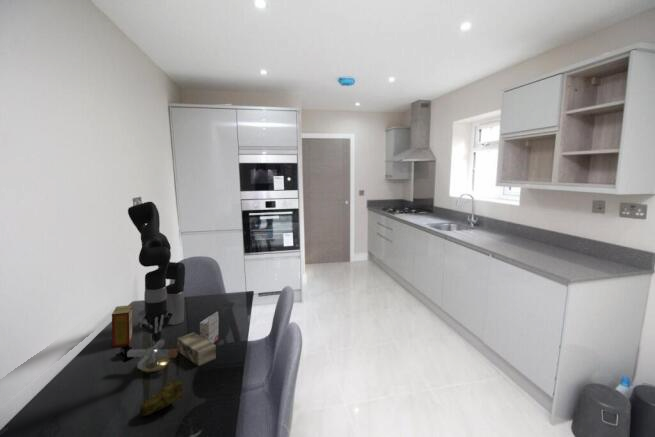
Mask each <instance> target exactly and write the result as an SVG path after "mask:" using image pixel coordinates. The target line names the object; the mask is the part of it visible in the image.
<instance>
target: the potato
mask: <svg viewBox="0 0 655 437" xmlns="http://www.w3.org/2000/svg"><path fill="white" fill-rule="evenodd" d="M184 388H185V386H184V383H183V382H182V381H180V380H172V381H169V382H168V383H167V384H165V385H163V386H162V387H161V388H160V389H158V391H157V392H156V393H154V394H153V395H152V396H150V397H149V398H148V399H146V400H145V401H144V402H143V403H142V404H141V406H140V408H139V409H140V410H139V412H140V415H142V416H150V415H152V414H153V413H156V412H158V411H161V410H162V409H164V408H166V407H168V406H170V404H172V403H173V402H175V401H177V400H178V399H181V398H182V397H183V393H184V390H185V389H184Z"/></svg>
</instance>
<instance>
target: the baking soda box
mask: <svg viewBox="0 0 655 437" xmlns="http://www.w3.org/2000/svg"><path fill="white" fill-rule="evenodd" d="M133 335H134V334H133V304H129V305H120V306H115V307H114V309H113V312H112V313H111V338H112V340H111V341H112V342H111V343H112V347H111V348H115V347H116V348H117V347H123V346H125V345H129V346H130V344H131V341H132V338H133Z"/></svg>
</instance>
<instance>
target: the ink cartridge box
mask: <svg viewBox="0 0 655 437" xmlns="http://www.w3.org/2000/svg"><path fill="white" fill-rule="evenodd" d="M199 335H200V336H201V337H203V338H205V339H206V340H208V341H209V342H211V343H213V344H215V342H217V341H218V340H219V312H218V310H217V311H216V312H214V313H213V314H211V315H209V316H207V317H206V318H205V319H203V320H202V321H201V322H199Z"/></svg>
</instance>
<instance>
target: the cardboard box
mask: <svg viewBox="0 0 655 437" xmlns="http://www.w3.org/2000/svg"><path fill="white" fill-rule="evenodd" d="M176 343H177V344H176V345H177V348H176V349H178V353H180V354H181V355H183V356H184V357H185V358H187V359H188V360H190V361H191V362H192V363H194V364H195V365H197V366H198V367H200V366H203V365H204V364H206V363H209V362H211V361H213V360H216V359H217V358H216V357H217V354H216V352H217V351H216V350H217V345H216V344H215V343H211V342H209V341H208V340H206V339H205V338H203V337H201V336H200V334H198V333H196V332H195V331H193V332H190V333H189V334H185V335H182V336H180V337H177V341H176Z"/></svg>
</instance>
